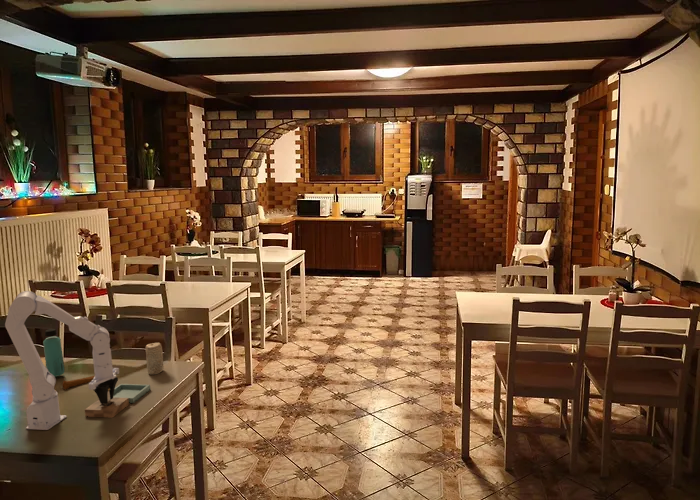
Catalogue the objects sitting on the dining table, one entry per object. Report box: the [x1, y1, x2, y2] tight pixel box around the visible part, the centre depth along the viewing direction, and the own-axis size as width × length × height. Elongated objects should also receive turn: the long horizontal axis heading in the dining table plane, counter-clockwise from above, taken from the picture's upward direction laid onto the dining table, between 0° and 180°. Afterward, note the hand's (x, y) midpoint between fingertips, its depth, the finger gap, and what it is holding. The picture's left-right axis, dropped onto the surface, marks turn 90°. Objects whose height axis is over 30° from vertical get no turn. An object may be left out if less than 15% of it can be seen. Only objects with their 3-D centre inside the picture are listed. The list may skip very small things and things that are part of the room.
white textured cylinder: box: [145, 342, 164, 376], centre depth 219 cm, size 6×8×12 cm
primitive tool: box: [61, 374, 95, 390], centre depth 212 cm, size 19×6×4 cm, turn 141°
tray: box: [113, 383, 151, 404], centre depth 197 cm, size 12×12×2 cm
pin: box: [103, 387, 111, 406], centre depth 185 cm, size 3×3×8 cm
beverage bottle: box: [42, 328, 66, 377], centre depth 217 cm, size 6×7×20 cm
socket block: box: [84, 397, 130, 419], centre depth 186 cm, size 10×10×2 cm
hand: (106, 401), depth 185 cm, fingers closed on pin, 3 cm apart
